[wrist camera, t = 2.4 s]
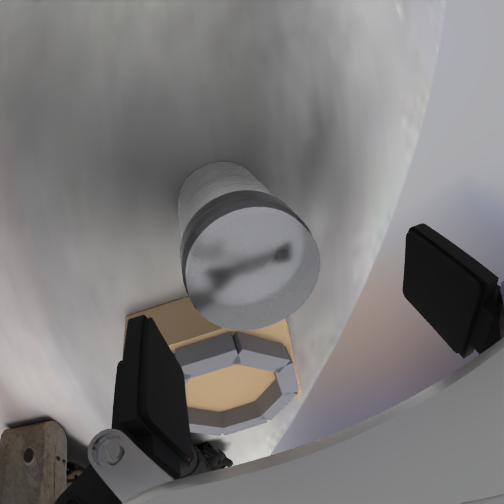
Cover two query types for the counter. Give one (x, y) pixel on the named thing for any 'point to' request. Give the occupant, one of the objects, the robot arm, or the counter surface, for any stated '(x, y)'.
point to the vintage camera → (35, 464)
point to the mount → (227, 368)
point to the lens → (242, 249)
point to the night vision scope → (205, 461)
